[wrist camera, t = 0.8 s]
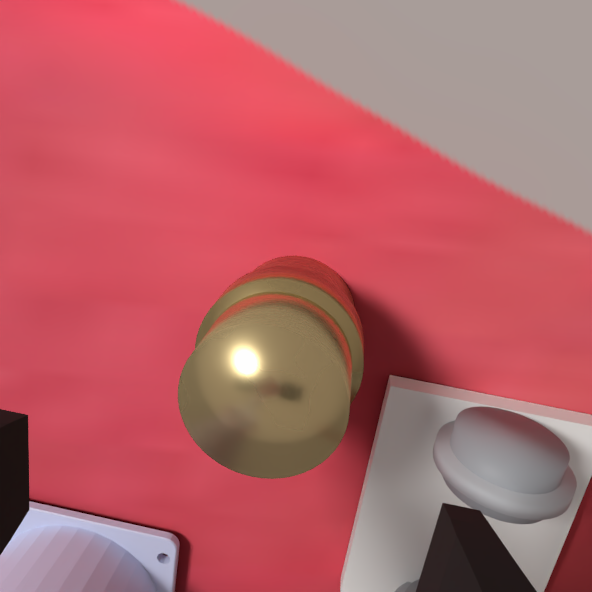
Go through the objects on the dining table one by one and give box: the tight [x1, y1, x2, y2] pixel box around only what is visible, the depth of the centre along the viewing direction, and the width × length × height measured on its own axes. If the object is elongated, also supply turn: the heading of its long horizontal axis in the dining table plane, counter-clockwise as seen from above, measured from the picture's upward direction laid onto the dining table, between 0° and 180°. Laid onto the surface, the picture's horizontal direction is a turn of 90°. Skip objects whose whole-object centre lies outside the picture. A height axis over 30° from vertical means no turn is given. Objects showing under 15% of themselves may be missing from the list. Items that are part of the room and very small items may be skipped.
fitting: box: [340, 375, 592, 592], centre depth 18 cm, size 9×7×4 cm
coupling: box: [178, 256, 364, 479], centre depth 15 cm, size 5×5×6 cm
